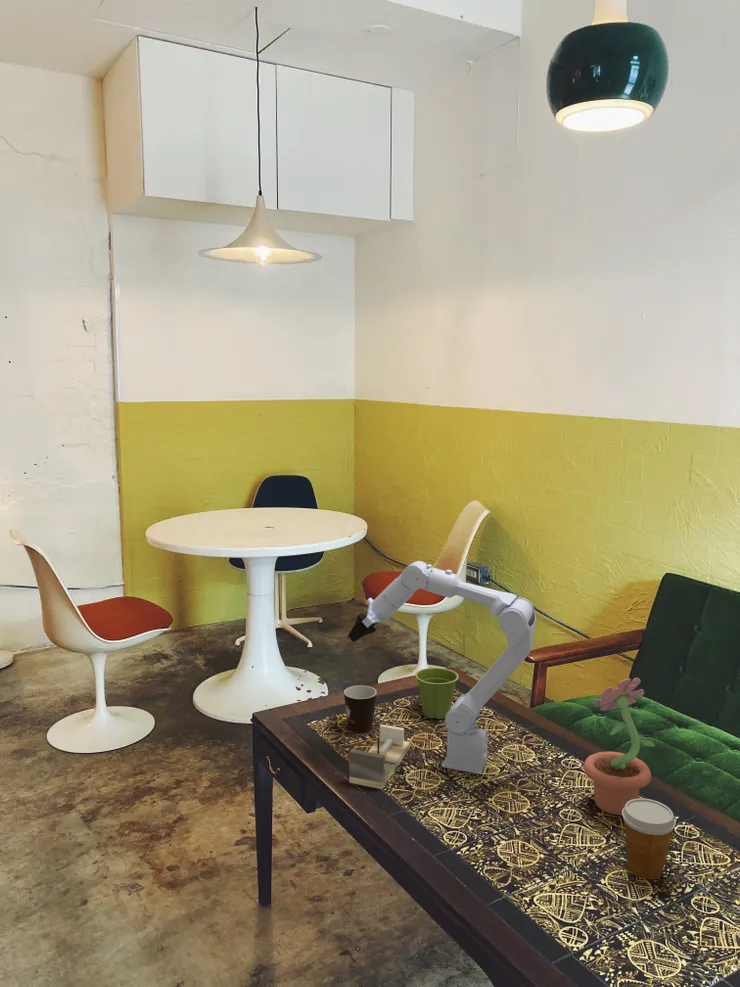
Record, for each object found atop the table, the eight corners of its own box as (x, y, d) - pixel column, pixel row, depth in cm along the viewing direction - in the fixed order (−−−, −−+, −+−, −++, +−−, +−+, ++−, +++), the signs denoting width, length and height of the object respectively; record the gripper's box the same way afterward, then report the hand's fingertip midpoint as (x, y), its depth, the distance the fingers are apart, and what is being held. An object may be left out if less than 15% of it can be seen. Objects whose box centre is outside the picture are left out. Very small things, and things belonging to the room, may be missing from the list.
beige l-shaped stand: (379, 742, 196) (380, 714, 195) (409, 747, 193) (410, 719, 192) (349, 782, 177) (349, 751, 175) (382, 789, 174) (382, 758, 173)
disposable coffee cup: (629, 847, 153) (633, 791, 151) (678, 867, 147) (683, 809, 145) (610, 871, 146) (614, 812, 144) (661, 892, 140) (666, 831, 138)
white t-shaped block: (381, 739, 194) (381, 724, 193) (403, 743, 192) (404, 728, 191) (369, 754, 186) (369, 739, 185) (393, 759, 184) (393, 743, 183)
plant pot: (464, 711, 214) (465, 672, 213) (445, 727, 204) (446, 687, 203) (427, 701, 221) (427, 663, 219) (406, 716, 211) (407, 677, 209)
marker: (372, 757, 184) (372, 734, 183) (396, 762, 182) (396, 738, 181) (369, 761, 183) (369, 737, 182) (393, 766, 181) (393, 742, 180)
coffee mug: (376, 735, 199) (376, 699, 198) (342, 735, 200) (342, 698, 198) (376, 716, 211) (377, 681, 209) (345, 715, 211) (345, 680, 210)
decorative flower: (626, 784, 177) (634, 659, 172) (666, 817, 164) (676, 683, 159) (569, 794, 172) (576, 666, 168) (606, 829, 159) (614, 691, 155)
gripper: (390, 578, 194) (356, 612, 199) (369, 595, 181) (334, 631, 186) (409, 599, 193) (375, 632, 198) (390, 617, 180) (354, 652, 185)
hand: (356, 633), depth 192 cm, fingers open, 7 cm apart
